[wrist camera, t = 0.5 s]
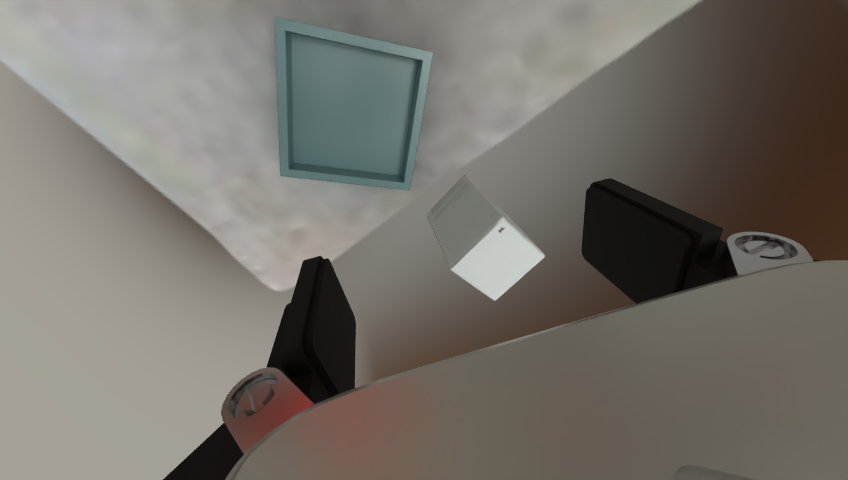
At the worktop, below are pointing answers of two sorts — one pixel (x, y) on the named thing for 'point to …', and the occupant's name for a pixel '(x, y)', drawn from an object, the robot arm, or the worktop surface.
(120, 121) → the worktop surface
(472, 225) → the supplement box
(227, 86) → the worktop surface
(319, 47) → the tray
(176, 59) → the worktop surface
